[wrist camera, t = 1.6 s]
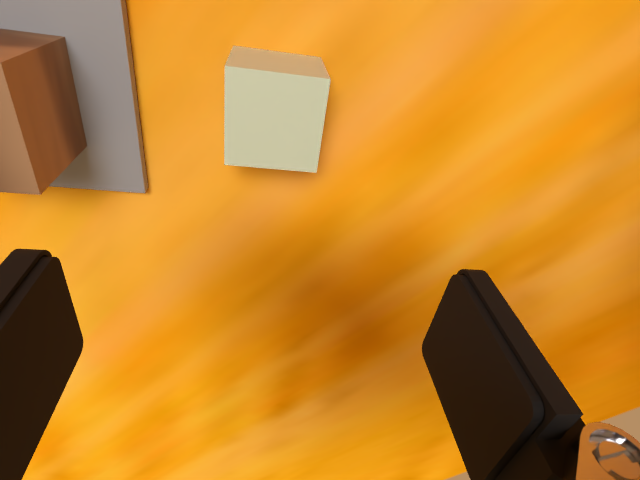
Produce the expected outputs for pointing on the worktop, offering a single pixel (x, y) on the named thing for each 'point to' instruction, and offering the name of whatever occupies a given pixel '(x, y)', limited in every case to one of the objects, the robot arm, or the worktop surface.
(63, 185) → the build pad
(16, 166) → the walnut block
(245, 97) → the cream cube
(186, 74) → the worktop surface
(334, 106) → the worktop surface
